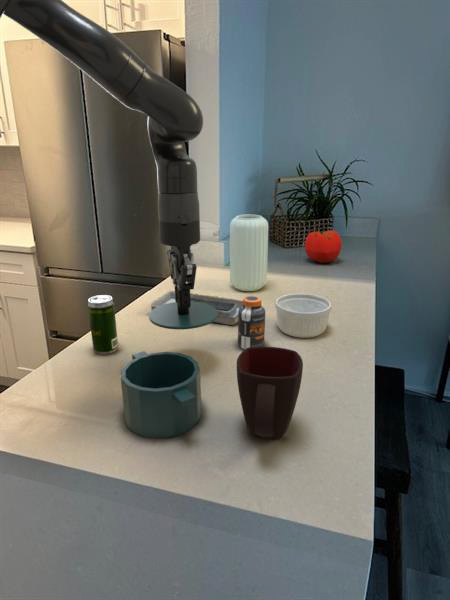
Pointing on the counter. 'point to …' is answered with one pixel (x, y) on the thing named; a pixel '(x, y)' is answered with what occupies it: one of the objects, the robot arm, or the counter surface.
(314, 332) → the ramekin
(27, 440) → the counter surface
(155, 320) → the pot lid
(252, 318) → the pill bottle
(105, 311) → the beer can
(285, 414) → the cup
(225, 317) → the grey metal tray
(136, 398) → the pot
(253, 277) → the vase
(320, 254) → the tomato
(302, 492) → the counter surface
